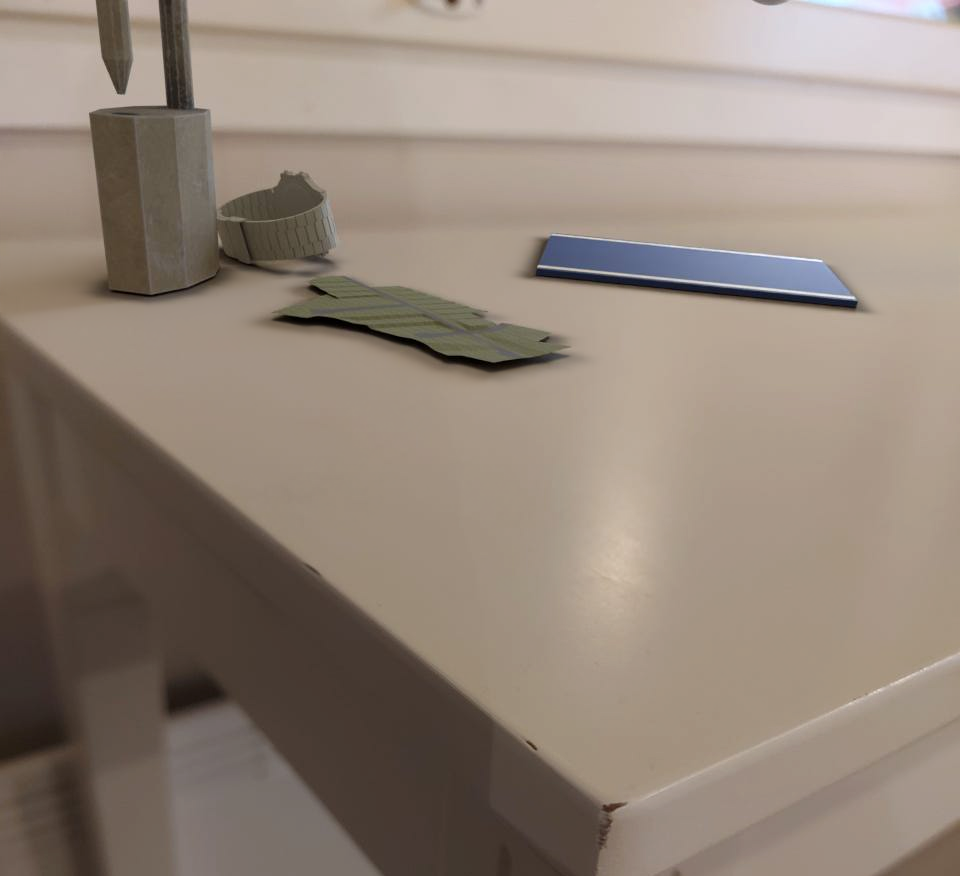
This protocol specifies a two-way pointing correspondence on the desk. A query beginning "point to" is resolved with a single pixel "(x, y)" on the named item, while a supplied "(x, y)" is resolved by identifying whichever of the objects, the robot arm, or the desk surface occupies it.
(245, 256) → the wristwatch
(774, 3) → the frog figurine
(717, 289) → the blue flat panel
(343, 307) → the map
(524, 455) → the desk surface
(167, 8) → the pencil holder
